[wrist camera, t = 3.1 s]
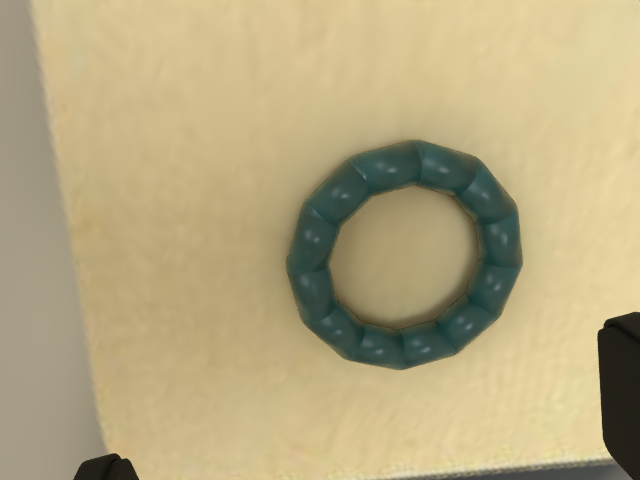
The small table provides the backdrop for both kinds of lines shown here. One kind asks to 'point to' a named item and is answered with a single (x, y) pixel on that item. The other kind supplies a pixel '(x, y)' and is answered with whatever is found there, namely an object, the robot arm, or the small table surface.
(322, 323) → the ring
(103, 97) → the small table surface
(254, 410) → the small table surface
